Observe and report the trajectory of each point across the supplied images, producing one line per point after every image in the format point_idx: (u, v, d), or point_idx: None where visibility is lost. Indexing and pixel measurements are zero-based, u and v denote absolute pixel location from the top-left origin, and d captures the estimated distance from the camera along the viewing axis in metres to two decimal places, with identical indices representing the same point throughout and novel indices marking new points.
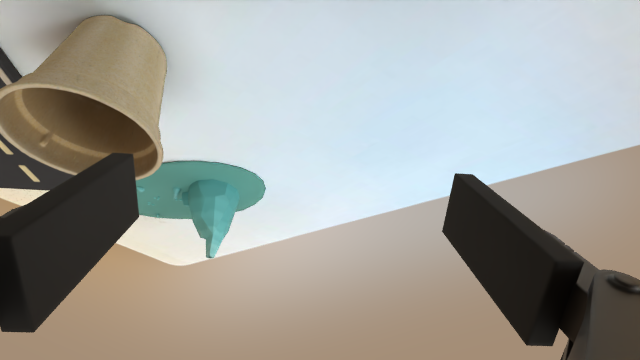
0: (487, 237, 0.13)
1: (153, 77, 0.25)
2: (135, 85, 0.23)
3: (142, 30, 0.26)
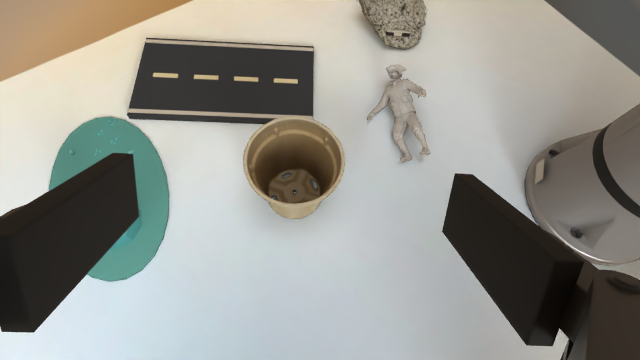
0: (487, 237, 0.13)
1: (303, 210, 0.38)
2: None
3: (314, 210, 0.41)
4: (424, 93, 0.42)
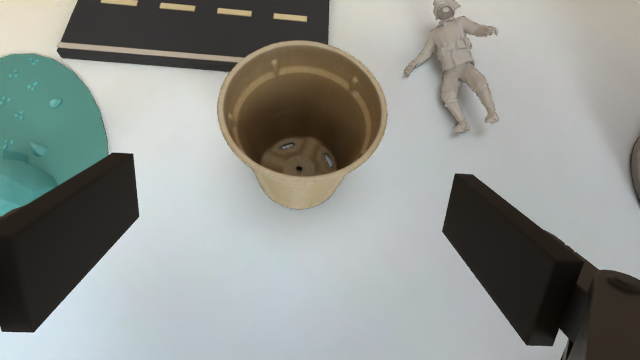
0: (487, 237, 0.13)
1: (314, 195, 0.24)
2: (336, 179, 0.22)
3: (328, 197, 0.27)
4: (495, 30, 0.28)
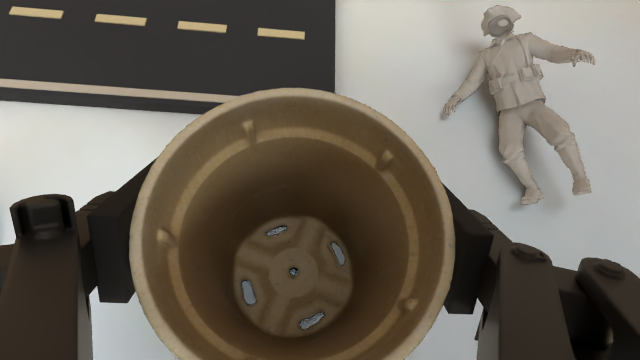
0: None
1: (318, 345, 0.14)
2: None
3: None
4: (591, 56, 0.19)
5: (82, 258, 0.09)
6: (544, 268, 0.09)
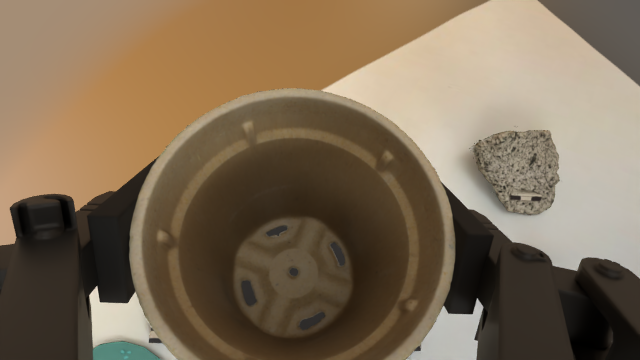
0: None
1: (318, 346, 0.14)
2: None
3: None
4: None
5: (82, 258, 0.09)
6: (544, 268, 0.09)
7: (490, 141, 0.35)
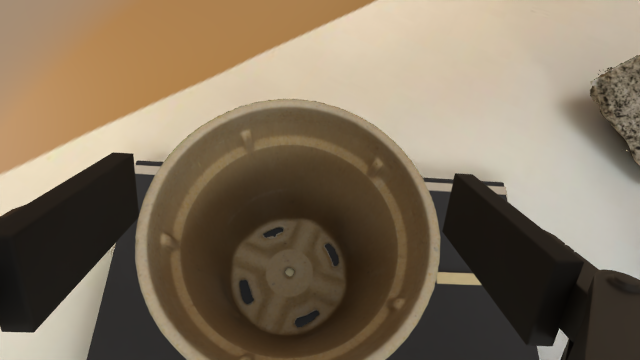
0: (487, 237, 0.13)
1: (312, 342, 0.15)
2: None
3: (333, 317, 0.18)
4: None
5: None
6: None
7: (630, 67, 0.23)
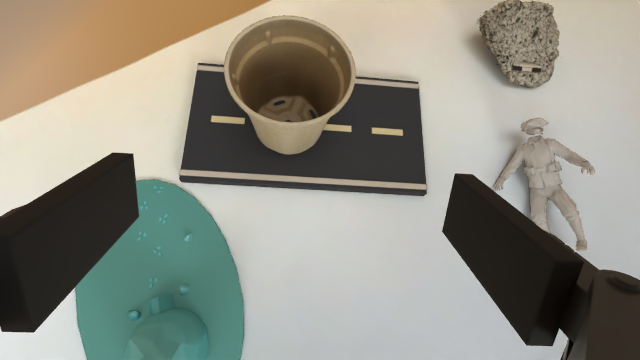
0: (487, 237, 0.13)
1: (300, 141, 0.30)
2: (316, 127, 0.29)
3: (312, 145, 0.34)
4: (592, 169, 0.31)
5: None
6: None
7: (496, 10, 0.37)
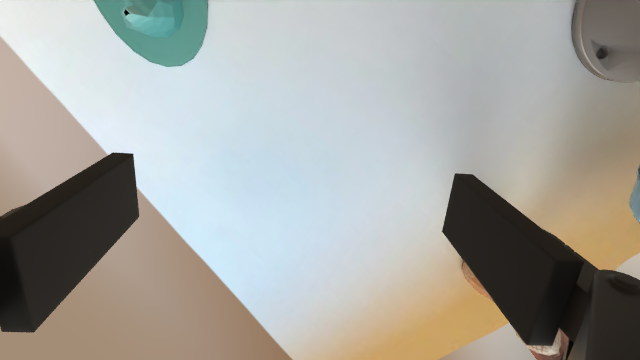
0: (487, 237, 0.13)
1: None
2: None
3: None
4: None
5: None
6: None
7: None
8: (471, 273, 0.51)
